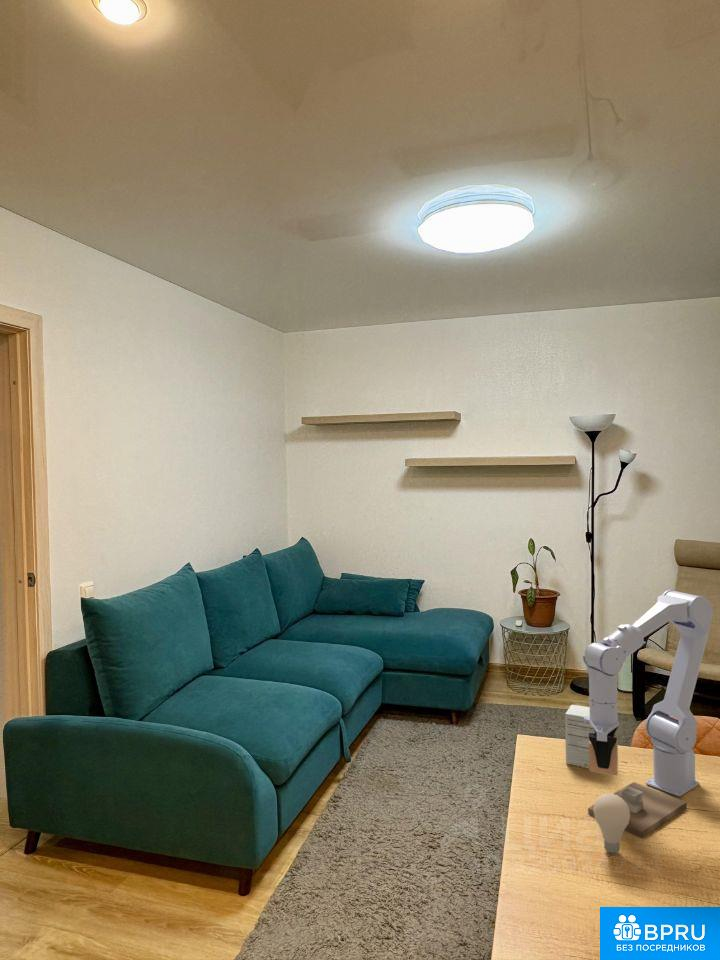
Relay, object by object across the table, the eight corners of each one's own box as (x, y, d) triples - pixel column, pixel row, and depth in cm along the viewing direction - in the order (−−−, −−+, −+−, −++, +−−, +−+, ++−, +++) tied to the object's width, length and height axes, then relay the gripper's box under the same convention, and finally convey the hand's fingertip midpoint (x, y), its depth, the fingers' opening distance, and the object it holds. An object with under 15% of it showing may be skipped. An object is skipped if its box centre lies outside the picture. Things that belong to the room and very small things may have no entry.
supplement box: (571, 752, 171) (571, 703, 171) (602, 758, 167) (601, 708, 167) (564, 764, 165) (564, 713, 165) (596, 770, 161) (595, 718, 161)
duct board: (633, 787, 153) (633, 766, 152) (686, 807, 143) (686, 785, 143) (588, 813, 141) (587, 791, 141) (642, 837, 132) (641, 814, 132)
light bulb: (633, 864, 123) (633, 805, 123) (596, 860, 125) (595, 802, 124) (627, 844, 130) (626, 788, 130) (591, 841, 131) (590, 785, 131)
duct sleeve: (591, 760, 150) (590, 734, 150) (618, 764, 148) (617, 737, 148) (589, 771, 145) (589, 743, 145) (617, 775, 142) (616, 747, 142)
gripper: (586, 687, 154) (587, 745, 154) (581, 708, 141) (582, 772, 141) (619, 690, 151) (620, 750, 152) (617, 712, 138) (618, 778, 138)
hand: (604, 761), depth 146 cm, fingers closed on duct sleeve, 6 cm apart
